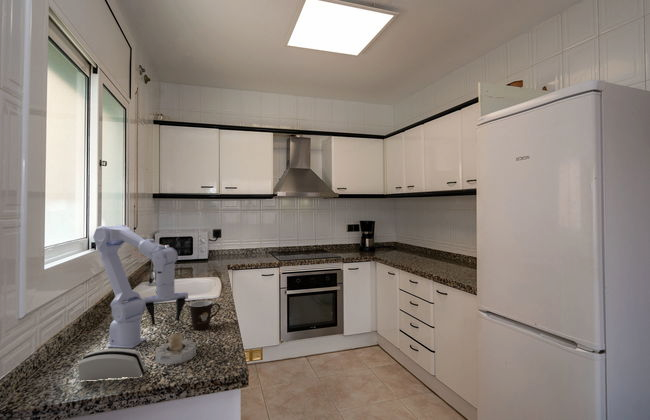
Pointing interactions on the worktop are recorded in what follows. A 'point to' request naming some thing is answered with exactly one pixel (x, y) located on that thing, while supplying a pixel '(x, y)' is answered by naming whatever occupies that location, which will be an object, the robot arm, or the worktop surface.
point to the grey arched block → (111, 364)
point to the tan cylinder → (175, 342)
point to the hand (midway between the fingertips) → (165, 321)
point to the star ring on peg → (175, 353)
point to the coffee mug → (201, 314)
